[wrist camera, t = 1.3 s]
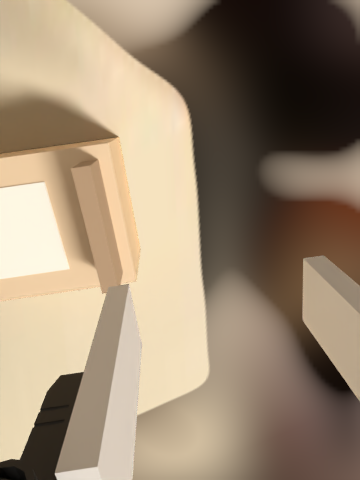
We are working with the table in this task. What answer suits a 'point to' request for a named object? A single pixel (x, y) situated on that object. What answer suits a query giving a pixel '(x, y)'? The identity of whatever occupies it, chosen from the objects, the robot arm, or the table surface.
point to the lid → (62, 223)
